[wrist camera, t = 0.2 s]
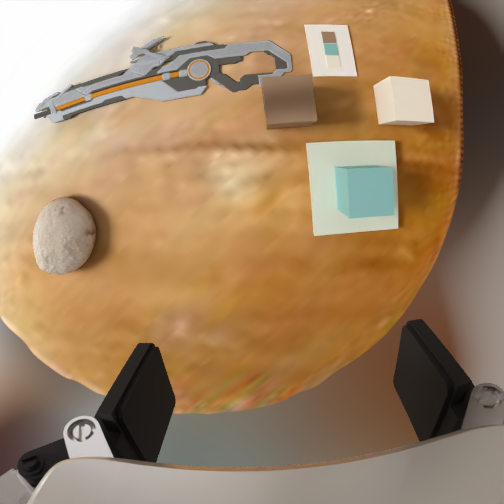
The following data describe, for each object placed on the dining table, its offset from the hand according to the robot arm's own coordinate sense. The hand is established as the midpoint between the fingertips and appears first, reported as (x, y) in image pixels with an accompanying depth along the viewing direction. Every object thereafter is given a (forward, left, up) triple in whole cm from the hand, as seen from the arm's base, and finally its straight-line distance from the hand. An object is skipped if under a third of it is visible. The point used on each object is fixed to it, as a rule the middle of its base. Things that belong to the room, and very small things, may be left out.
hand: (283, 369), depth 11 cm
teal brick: (-3, +11, -30) cm, 32 cm away
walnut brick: (-14, +3, -31) cm, 34 cm away
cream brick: (-14, +18, -31) cm, 39 cm away
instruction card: (-22, +10, -31) cm, 39 cm away
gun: (-22, -15, -31) cm, 41 cm away
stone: (-1, -31, -31) cm, 44 cm away
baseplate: (-3, +11, -31) cm, 33 cm away
